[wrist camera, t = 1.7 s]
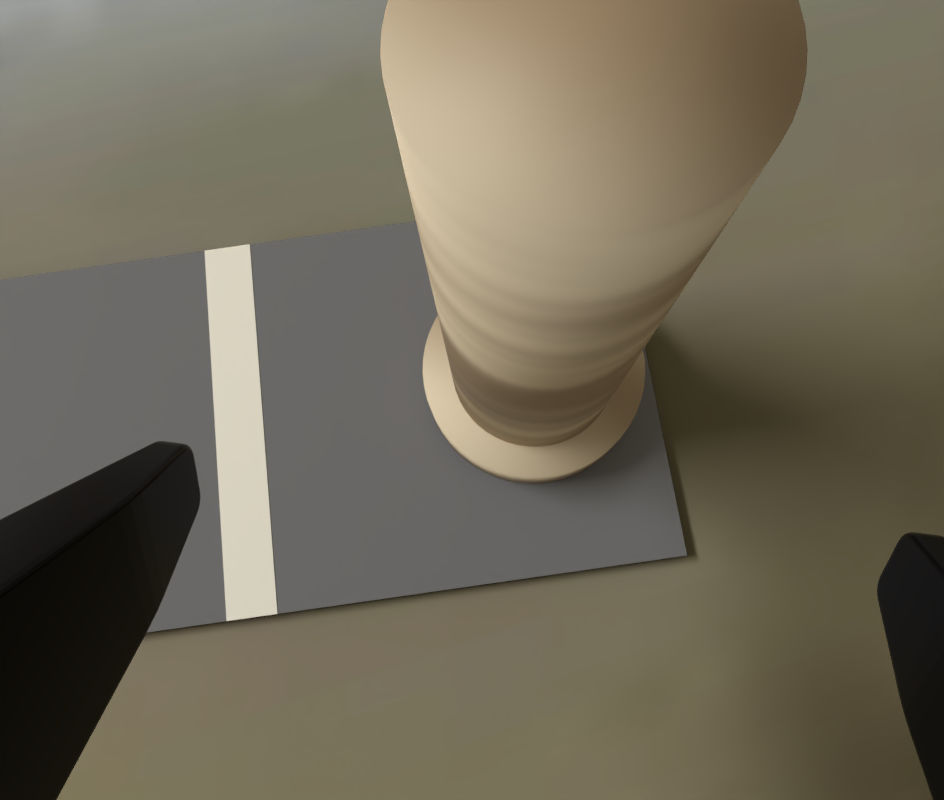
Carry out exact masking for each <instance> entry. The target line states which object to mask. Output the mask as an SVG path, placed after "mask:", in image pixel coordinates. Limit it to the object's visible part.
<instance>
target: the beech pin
mask: <svg viewBox="0 0 944 800" xmlns="http://www.w3.org/2000/svg"><path fill="white" fill-rule="evenodd" d="M380 56H381V65H382V75H383V81H384V85H385V90H386V94H387V98H388V103H389V107H390V111H391V115H392V120H393V124H394V128H395V133H396V137H397V141H398V146H399V150H400V154H401V159H402V163H403V167H404V171H405V176H406V180H407V184H408V189H409V193H410V197H411V202H412V206H413V210H414V215H415V219H416V223H417V227H418V232H419V236H420V240H421V245H422V249H423V253H424V258H425V262H426V266H427V271H428V275H429V279H430V283H431V288H432V292H433V296H434V301H435V305H436V309H437V314H438V316H437V317H436V319H435V321H434V323H433V325H432V327H431V330H430V332H429V335H428V338H427V341H426V345H425V350H424V356H423V381H424V389H425V393H426V397H427V401H428V403H429V406H430V408H431V411H432V413H433V416H434V418H435V421H436V423H437V425H438V427H439V429H440V431H441V432H442V434H443V436H444V437H445V439H446V440H447V441H448V443H449V444H450V445H451V447H452V448H453V449H454V450H455V451H456V452H457V453H458V454H459V455H460V456H461V457H462V458H463V459H465V460H466V461H467V462H469V463H470V464H471V465H473V466H474V467H476V468H478V469H479V470H481V471H483V472H485V473H487V474H489V475H492V476H494V477H496V478H500V479H503V480H507V481H511V482H518V483H532V484H539V483H547V482H554V481H557V480H561V479H565V478H568V477H570V476H573V475H575V474H578V473H580V472H581V471H583V470H585V469H587V468H588V467H590V466H592V465H593V464H594V463H596V462H597V461H598V460H599V459H601V458H602V457H603V456H604V455H605V454H606V453H607V452H608V451H609V450H610V449H611V448H612V447H613V446H614V445H615V444H616V442H617V441H618V440H619V439H620V438H621V437H622V435H623V434H624V433H625V431H626V430H627V429H628V427H629V426H630V424H631V422H632V420H633V418H634V417H635V415H636V412H637V410H638V407H639V404H640V402H641V398H642V394H643V389H644V381H645V359H644V354H643V349H644V348H645V346H646V345H647V343H648V342H649V340H650V339H651V337H652V336H653V334H654V333H655V331H656V330H657V328H658V327H659V325H660V324H661V322H662V321H663V319H664V318H665V316H666V315H667V313H668V312H669V310H670V309H671V307H672V306H673V304H674V303H675V301H676V300H677V298H678V297H679V295H680V293H681V292H682V290H683V289H684V287H685V286H686V284H687V283H688V281H689V280H690V278H691V277H692V275H693V274H694V272H695V271H696V269H697V268H698V266H699V265H700V263H701V262H702V260H703V259H704V257H705V256H706V254H707V253H708V251H709V250H710V248H711V247H712V245H713V244H714V242H715V241H716V239H717V238H718V236H719V235H720V233H721V232H722V230H723V229H724V227H725V226H726V224H727V223H728V221H729V220H730V218H731V217H732V215H733V214H734V212H735V211H736V209H737V208H738V206H739V205H740V203H741V202H742V200H743V199H744V197H745V196H746V194H747V193H748V191H749V190H750V188H751V186H752V185H753V183H754V182H755V180H756V179H757V177H758V176H759V174H760V173H761V171H762V170H763V168H764V167H765V165H766V164H767V162H768V161H769V159H770V158H771V156H772V155H773V153H774V152H775V150H776V149H777V147H778V146H779V144H780V143H781V141H782V139H783V137H784V135H785V134H786V132H787V130H788V128H789V127H790V125H791V123H792V121H793V118H794V116H795V113H796V110H797V108H798V105H799V102H800V100H801V96H802V92H803V87H804V82H805V77H806V68H807V40H806V31H805V24H804V20H803V16H802V12H801V8H800V4H799V1H798V0H389V1H388V3H387V6H386V10H385V15H384V20H383V25H382V30H381V51H380Z"/></svg>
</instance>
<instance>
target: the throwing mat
mask: <svg viewBox="0 0 944 800" xmlns="http://www.w3.org/2000/svg"><path fill="white" fill-rule="evenodd" d="M437 316H438V314H437V309H436V305H435V301H434V296H433V292H432V288H431V283H430V279H429V275H428V271H427V266H426V262H425V258H424V253H423V249H422V245H421V240H420V236H419V232H418V227H417V223H416V221H414V222H407V223H400V224H393V225H386V226H379V227H372V228H365V229H358V230H350V231H343V232H336V233H329V234H322V235H315V236H308V237H301V238H294V239H287V240H280V241H272V242H265V243H258V244H251V245H250V244H249V245H242V246H235V247H228V248H221V249H213V250H206V251H202V252H194V253H187V254H180V255H173V256H166V257H159V258H152V259H145V260H138V261H131V262H124V263H116V264H109V265H102V266H95V267H88V268H81V269H74V270H67V271H60V272H53V273H45V274H38V275H31V276H24V277H17V278H10V279H3V280H0V519H2V518H4V517H6V516H8V515H10V514H12V513H14V512H16V511H18V510H20V509H22V508H24V507H26V506H28V505H30V504H32V503H34V502H36V501H38V500H40V499H42V498H44V497H46V496H48V495H50V494H52V493H54V492H56V491H58V490H60V489H62V488H64V487H66V486H68V485H70V484H72V483H74V482H76V481H78V480H80V479H82V478H84V477H86V476H88V475H90V474H92V473H94V472H96V471H98V470H100V469H102V468H104V467H106V466H108V465H110V464H112V463H114V462H116V461H118V460H120V459H122V458H124V457H126V456H128V455H130V454H132V453H134V452H136V451H138V450H140V449H142V448H144V447H146V446H148V445H150V444H152V443H154V442H157V441H167V442H175V443H183V444H187V445H188V446H190V447H191V449H192V451H193V454H194V459H195V464H196V470H197V476H198V482H199V487H200V495H201V496H200V506H199V510H198V513H197V515H196V518H195V520H194V523H193V525H192V528H191V530H190V533H189V535H188V538H187V540H186V543H185V545H184V548H183V550H182V553H181V555H180V558H179V560H178V563H177V565H176V568H175V570H174V573H173V575H172V578H171V580H170V583H169V585H168V588H167V590H166V593H165V595H164V597H163V600H162V602H161V604H160V607H159V609H158V611H157V613H156V615H155V617H154V619H153V621H152V623H151V625H150V627H149V629H148V631H147V632H154V631H161V630H168V629H175V628H182V627H189V626H196V625H203V624H210V623H217V622H224V621H231V620H238V619H245V618H252V617H259V616H266V615H273V614H280V613H287V612H294V611H301V610H308V609H315V608H322V607H329V606H336V605H343V604H350V603H357V602H364V601H371V600H378V599H385V598H392V597H399V596H406V595H413V594H420V593H427V592H434V591H441V590H448V589H455V588H462V587H469V586H476V585H483V584H490V583H497V582H504V581H511V580H518V579H525V578H532V577H539V576H546V575H553V574H560V573H567V572H574V571H581V570H588V569H595V568H602V567H609V566H616V565H623V564H630V563H637V562H644V561H651V560H658V559H665V558H672V557H679V556H686V555H687V552H686V547H685V542H684V537H683V532H682V527H681V522H680V517H679V512H678V507H677V502H676V498H675V493H674V488H673V483H672V478H671V473H670V468H669V463H668V458H667V453H666V448H665V443H664V438H663V433H662V428H661V423H660V418H659V413H658V408H657V403H656V398H655V394H654V389H653V384H652V379H651V374H650V369H649V364H648V359H647V354H646V349H645V348H644V349H643V354H644V359H645V381H644V389H643V394H642V398H641V402H640V404H639V407H638V410H637V412H636V415H635V417H634V418H633V420H632V422H631V424H630V426H629V427H628V429H627V430H626V431H625V433H624V434H623V435H622V437H621V438H620V439H619V440H618V441H617V442H616V444H615V445H614V446H613V447H612V448H611V449H610V450H609V451H608V452H607V453H606V454H605V455H604V456H603V457H602V458H601V459H599V460H598V461H597V462H596V463H594V464H593V465H592V466H590V467H588V468H587V469H585V470H583V471H581V472H580V473H578V474H575V475H573V476H570V477H568V478H565V479H561V480H557V481H554V482H547V483H539V484H532V483H518V482H511V481H507V480H503V479H500V478H496V477H494V476H492V475H489V474H487V473H485V472H483V471H481V470H479V469H478V468H476V467H474V466H473V465H471V464H470V463H469V462H467V461H466V460H465V459H463V458H462V457H461V456H460V455H459V454H458V453H457V452H456V451H455V450H454V449H453V448H452V447H451V445H450V444H449V443H448V441H447V440H446V439H445V437H444V436H443V434H442V432H441V431H440V429H439V427H438V425H437V423H436V421H435V418H434V416H433V413H432V411H431V408H430V406H429V403H428V401H427V397H426V393H425V389H424V381H423V356H424V350H425V345H426V341H427V338H428V335H429V332H430V330H431V327H432V325H433V323H434V321H435V319H436V317H437Z"/></svg>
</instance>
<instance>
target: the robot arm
mask: <svg viewBox="0 0 944 800" xmlns="http://www.w3.org/2000/svg"><path fill="white" fill-rule="evenodd" d="M200 496H201V495H200V487H199V482H198V476H197V470H196V464H195V459H194V454H193V451H192V449H191V447H190V446H188V445H187V444H183V443H175V442H167V441H157V442H154V443H152V444H150V445H148V446H146V447H144V448H142V449H140V450H138V451H136V452H134V453H132V454H130V455H128V456H126V457H124V458H122V459H120V460H118V461H116V462H114V463H112V464H110V465H108V466H106V467H104V468H102V469H100V470H98V471H96V472H94V473H92V474H90V475H88V476H86V477H84V478H82V479H80V480H78V481H76V482H74V483H72V484H70V485H68V486H66V487H64V488H62V489H60V490H58V491H56V492H54V493H52V494H50V495H48V496H46V497H44V498H42V499H40V500H38V501H36V502H34V503H32V504H30V505H28V506H26V507H24V508H22V509H20V510H18V511H16V512H14V513H12V514H10V515H8V516H6V517H4V518H2V519H0V800H56V799H57V798H58V796H59V794H60V792H61V790H62V788H63V786H64V785H65V783H66V781H67V779H68V777H69V775H70V773H71V772H72V770H73V768H74V766H75V764H76V762H77V760H78V759H79V757H80V755H81V753H82V751H83V749H84V748H85V746H86V744H87V742H88V740H89V738H90V736H91V735H92V733H93V731H94V729H95V727H96V725H97V723H98V722H99V720H100V718H101V716H102V714H103V712H104V710H105V709H106V707H107V705H108V703H109V701H110V699H111V698H112V696H113V694H114V692H115V690H116V688H117V686H118V685H119V683H120V681H121V679H122V677H123V675H124V673H125V672H126V670H127V668H128V666H129V664H130V662H131V660H132V659H133V657H134V655H135V653H136V651H137V649H138V647H139V646H140V644H141V642H142V640H143V638H144V636H145V635H146V633H147V631H148V629H149V627H150V625H151V623H152V621H153V619H154V617H155V615H156V613H157V611H158V609H159V607H160V604H161V602H162V600H163V597H164V595H165V593H166V590H167V588H168V585H169V583H170V580H171V578H172V575H173V573H174V570H175V568H176V565H177V563H178V560H179V558H180V555H181V553H182V550H183V548H184V545H185V543H186V540H187V538H188V535H189V533H190V530H191V528H192V525H193V523H194V520H195V518H196V515H197V513H198V510H199V506H200ZM877 596H878V602H879V606H880V611H881V615H882V620H883V624H884V629H885V633H886V638H887V642H888V647H889V651H890V656H891V660H892V665H893V669H894V674H895V678H896V683H897V687H898V692H899V696H900V700H901V704H902V708H903V711H904V715H905V718H906V721H907V724H908V727H909V731H910V734H911V737H912V740H913V742H914V745H915V748H916V751H917V754H918V757H919V760H920V763H921V766H922V769H923V772H924V775H925V778H926V780H927V783H928V786H929V789H930V792H931V795H932V798H933V800H944V537H942V536H938V535H931V534H923V533H915V532H911V533H907V534H905V535H903V536H902V537H901V538H900V540H899V541H898V543H897V545H896V547H895V549H894V551H893V553H892V555H891V557H890V559H889V561H888V563H887V564H886V566H885V568H884V570H883V572H882V574H881V576H880V579H879V582H878V588H877Z"/></svg>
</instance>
